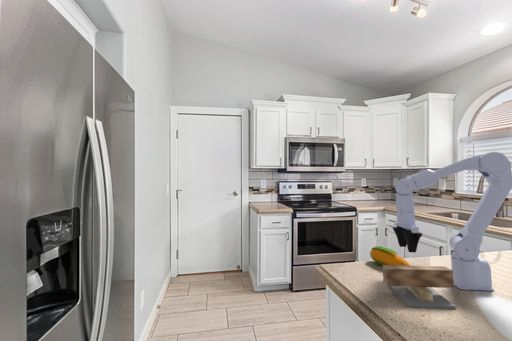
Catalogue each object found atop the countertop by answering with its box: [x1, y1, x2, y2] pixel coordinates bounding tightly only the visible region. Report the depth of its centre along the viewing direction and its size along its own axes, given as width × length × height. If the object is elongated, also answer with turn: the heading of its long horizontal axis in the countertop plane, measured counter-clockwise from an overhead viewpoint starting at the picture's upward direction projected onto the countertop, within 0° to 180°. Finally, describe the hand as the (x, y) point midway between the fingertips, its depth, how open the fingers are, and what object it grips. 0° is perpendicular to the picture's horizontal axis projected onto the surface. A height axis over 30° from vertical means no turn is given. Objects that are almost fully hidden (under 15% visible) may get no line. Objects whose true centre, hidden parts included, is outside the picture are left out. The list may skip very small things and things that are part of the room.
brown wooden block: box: [382, 265, 455, 289], centre depth 75 cm, size 18×4×5 cm, turn 81°
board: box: [388, 286, 457, 310], centre depth 75 cm, size 12×14×1 cm
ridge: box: [406, 286, 433, 302], centre depth 75 cm, size 3×10×4 cm, turn 171°
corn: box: [369, 245, 411, 266], centre depth 101 cm, size 7×8×20 cm
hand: (407, 249), depth 91 cm, fingers open, 7 cm apart
